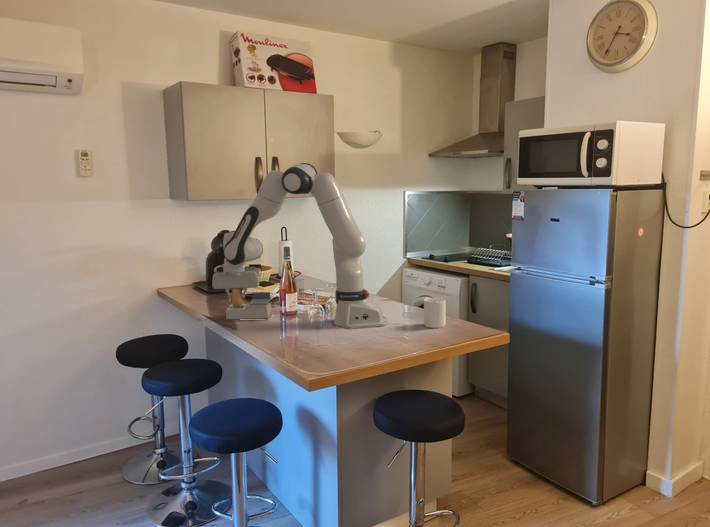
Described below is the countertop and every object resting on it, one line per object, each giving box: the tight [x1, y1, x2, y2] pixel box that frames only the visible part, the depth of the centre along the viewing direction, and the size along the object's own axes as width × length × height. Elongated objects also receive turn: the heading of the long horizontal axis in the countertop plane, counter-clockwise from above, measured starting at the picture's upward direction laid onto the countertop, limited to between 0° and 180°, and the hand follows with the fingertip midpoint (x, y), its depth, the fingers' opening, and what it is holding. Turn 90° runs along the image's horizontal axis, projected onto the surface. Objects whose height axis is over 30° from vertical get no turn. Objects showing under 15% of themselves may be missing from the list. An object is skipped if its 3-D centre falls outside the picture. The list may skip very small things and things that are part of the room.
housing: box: [225, 302, 272, 321], centre depth 240 cm, size 18×11×6 cm, turn 91°
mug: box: [423, 297, 447, 329], centre depth 219 cm, size 9×12×11 cm
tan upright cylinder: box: [231, 288, 243, 307], centre depth 239 cm, size 4×4×8 cm
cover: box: [248, 291, 271, 305], centre depth 246 cm, size 8×10×4 cm
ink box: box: [294, 278, 305, 294], centre depth 267 cm, size 9×9×12 cm
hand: (236, 298), depth 239 cm, fingers closed on tan upright cylinder, 4 cm apart
